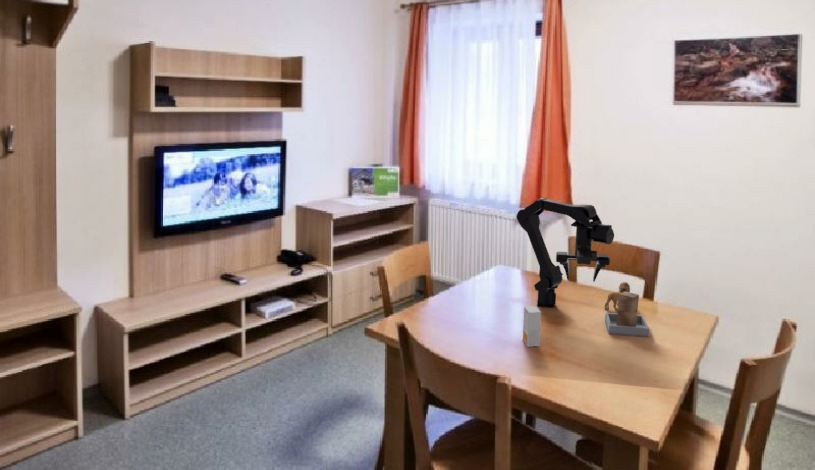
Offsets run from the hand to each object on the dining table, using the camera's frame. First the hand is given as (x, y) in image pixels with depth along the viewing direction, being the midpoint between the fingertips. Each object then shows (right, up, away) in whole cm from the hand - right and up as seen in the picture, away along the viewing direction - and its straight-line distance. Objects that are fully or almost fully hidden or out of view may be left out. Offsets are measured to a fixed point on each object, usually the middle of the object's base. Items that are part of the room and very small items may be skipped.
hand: (580, 280), depth 228 cm
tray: (+13, -16, -11) cm, 23 cm away
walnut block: (+13, -15, -11) cm, 23 cm away
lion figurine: (+17, -11, +11) cm, 23 cm away
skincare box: (-23, -19, -24) cm, 39 cm away
